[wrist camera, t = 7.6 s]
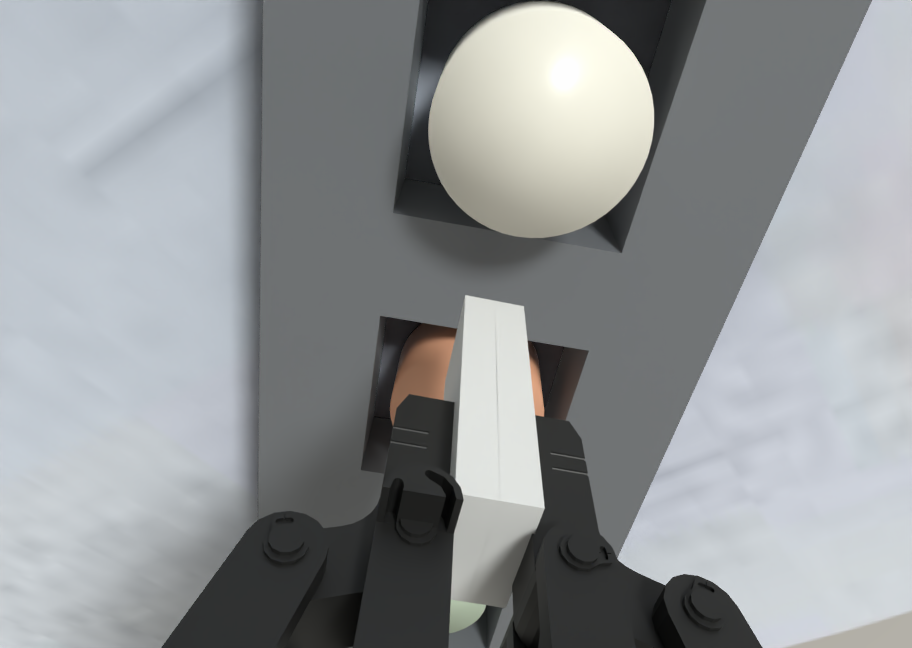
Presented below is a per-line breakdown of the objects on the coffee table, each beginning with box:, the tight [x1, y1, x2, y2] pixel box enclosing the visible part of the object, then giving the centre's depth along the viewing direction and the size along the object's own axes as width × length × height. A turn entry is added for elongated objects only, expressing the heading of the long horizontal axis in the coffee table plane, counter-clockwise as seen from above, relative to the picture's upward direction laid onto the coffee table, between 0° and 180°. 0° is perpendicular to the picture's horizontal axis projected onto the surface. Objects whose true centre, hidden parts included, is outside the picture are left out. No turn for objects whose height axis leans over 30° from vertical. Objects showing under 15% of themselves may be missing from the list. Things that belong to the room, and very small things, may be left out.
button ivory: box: [428, 0, 654, 238], centre depth 16 cm, size 5×5×3 cm
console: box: [258, 0, 872, 648], centre depth 23 cm, size 14×30×3 cm, turn 170°
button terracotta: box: [390, 323, 544, 425], centre depth 23 cm, size 5×5×3 cm
